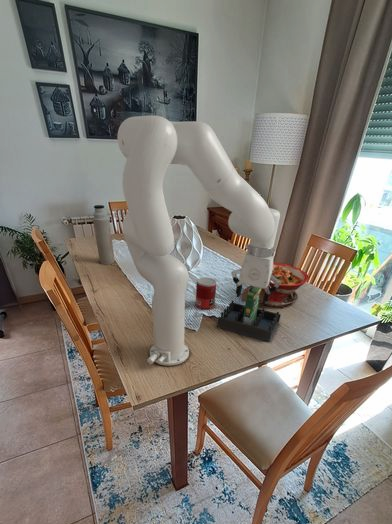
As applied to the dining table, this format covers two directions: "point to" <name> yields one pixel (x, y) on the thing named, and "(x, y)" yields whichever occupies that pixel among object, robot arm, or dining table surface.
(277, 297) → the stew
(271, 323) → the rack
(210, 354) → the dining table surface
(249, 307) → the coffee box
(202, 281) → the canned food
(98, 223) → the thermos bottle
